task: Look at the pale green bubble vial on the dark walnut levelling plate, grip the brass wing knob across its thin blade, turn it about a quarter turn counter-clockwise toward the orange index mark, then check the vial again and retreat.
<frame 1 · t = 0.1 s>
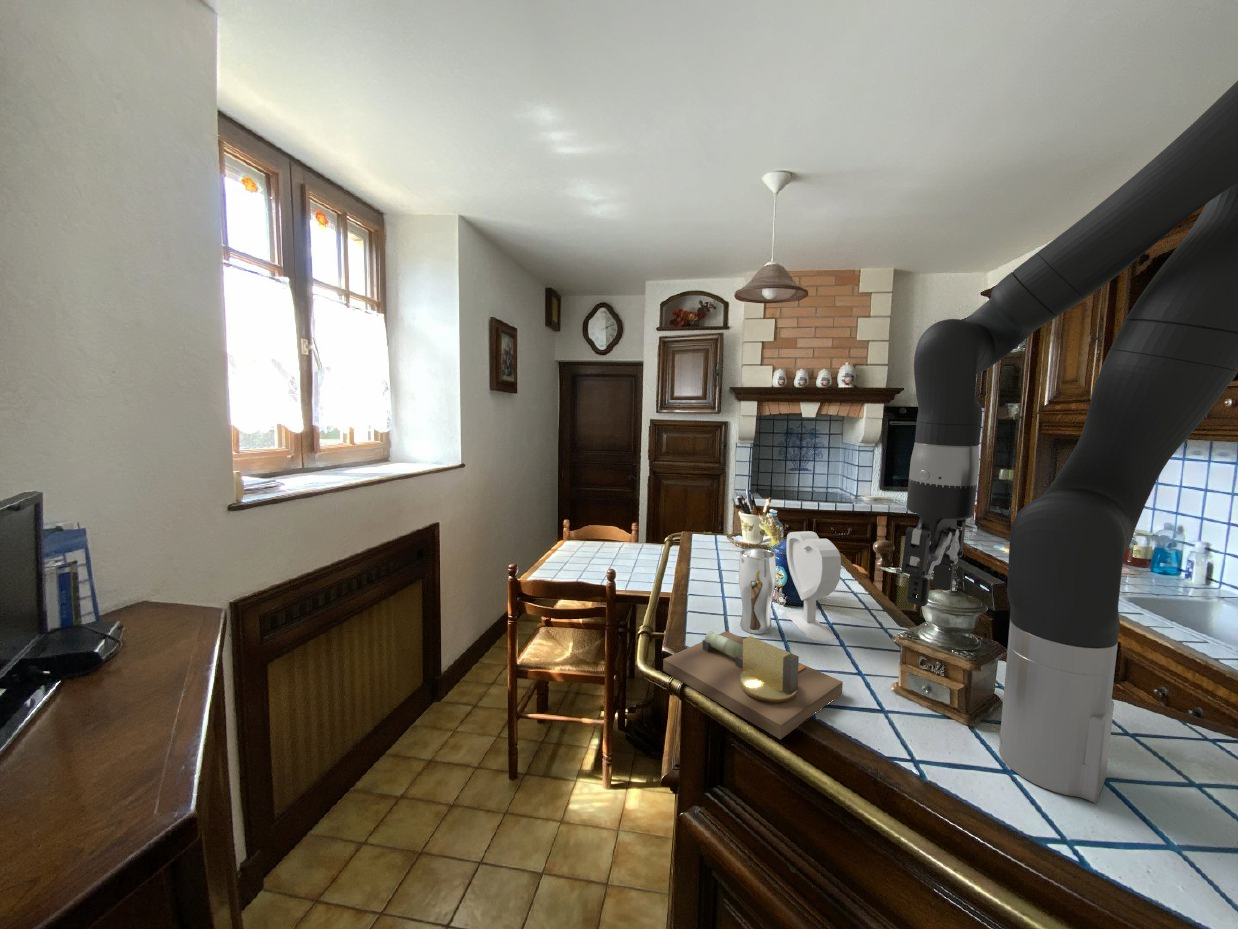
hand: (929, 596, 67), 17 cm above the kitchen island, tool pointing down, fingers open, 8 cm apart
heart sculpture: (809, 625, 98), on the kitchen island
wing knob: (769, 667, 72), point 5 cm above the kitchen island, hinge at 0.0°
tribrach plate: (748, 682, 78), on the kitchen island
beer glass: (755, 628, 97), on the kitchen island
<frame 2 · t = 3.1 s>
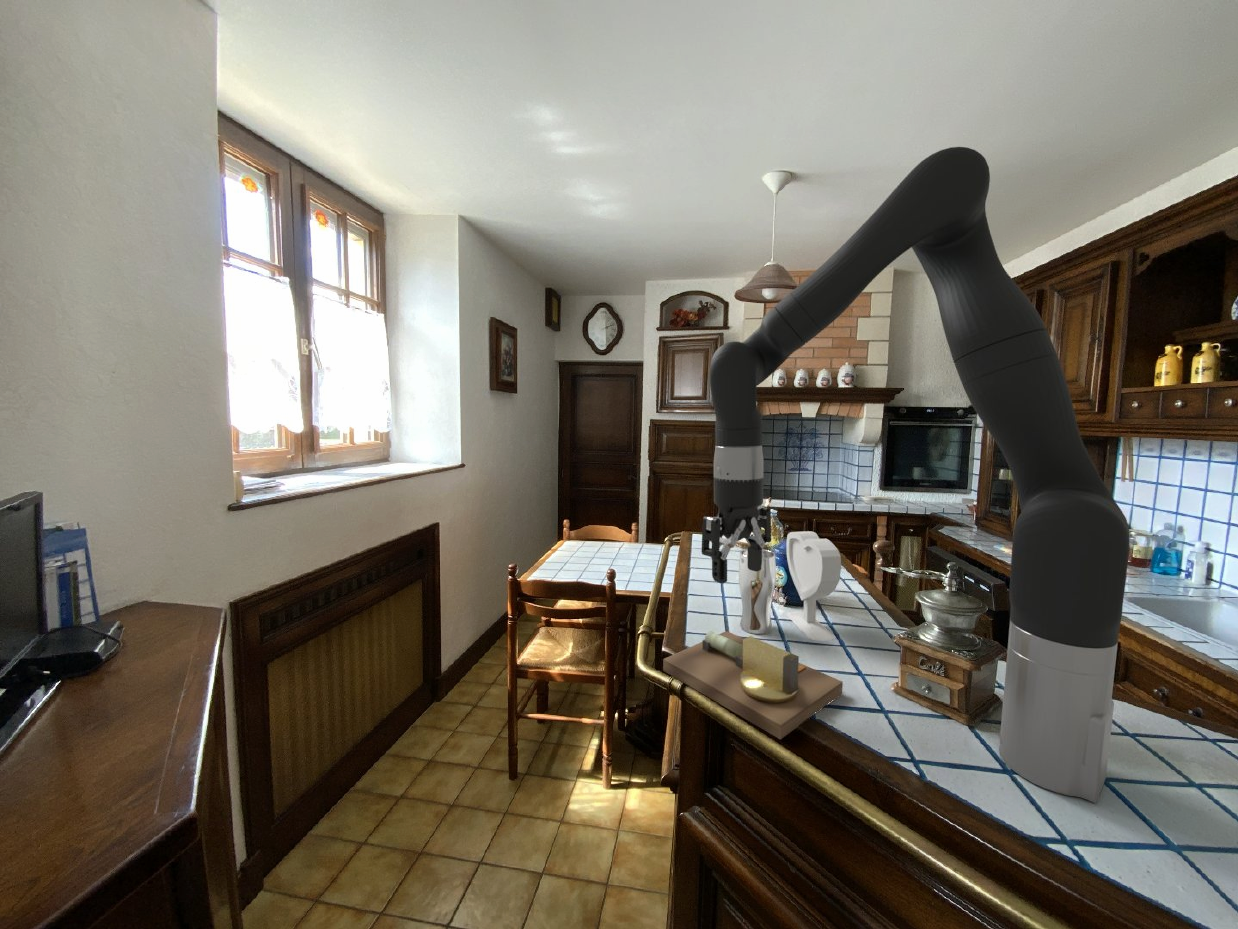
hand: (737, 575, 78), 16 cm above the kitchen island, tool pointing down, fingers open, 8 cm apart
nothing on the kitchen island moved.
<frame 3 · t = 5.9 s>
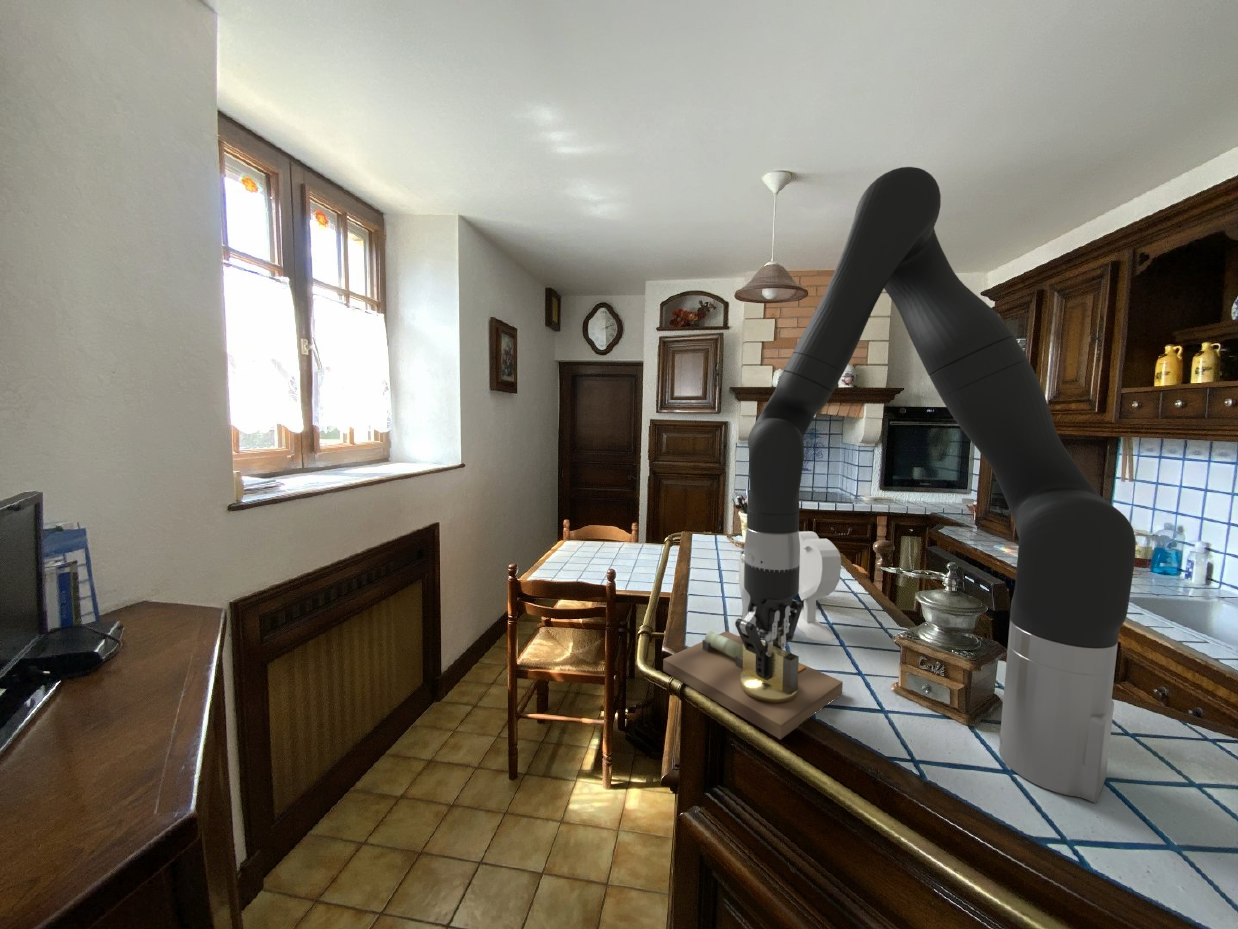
hand: (768, 673, 72), 4 cm above the kitchen island, tool pointing down, fingers closed on wing knob, 2 cm apart
wing knob: (769, 667, 72), point 5 cm above the kitchen island, hinge at 0.0°, touching gripper
everything else where it was.
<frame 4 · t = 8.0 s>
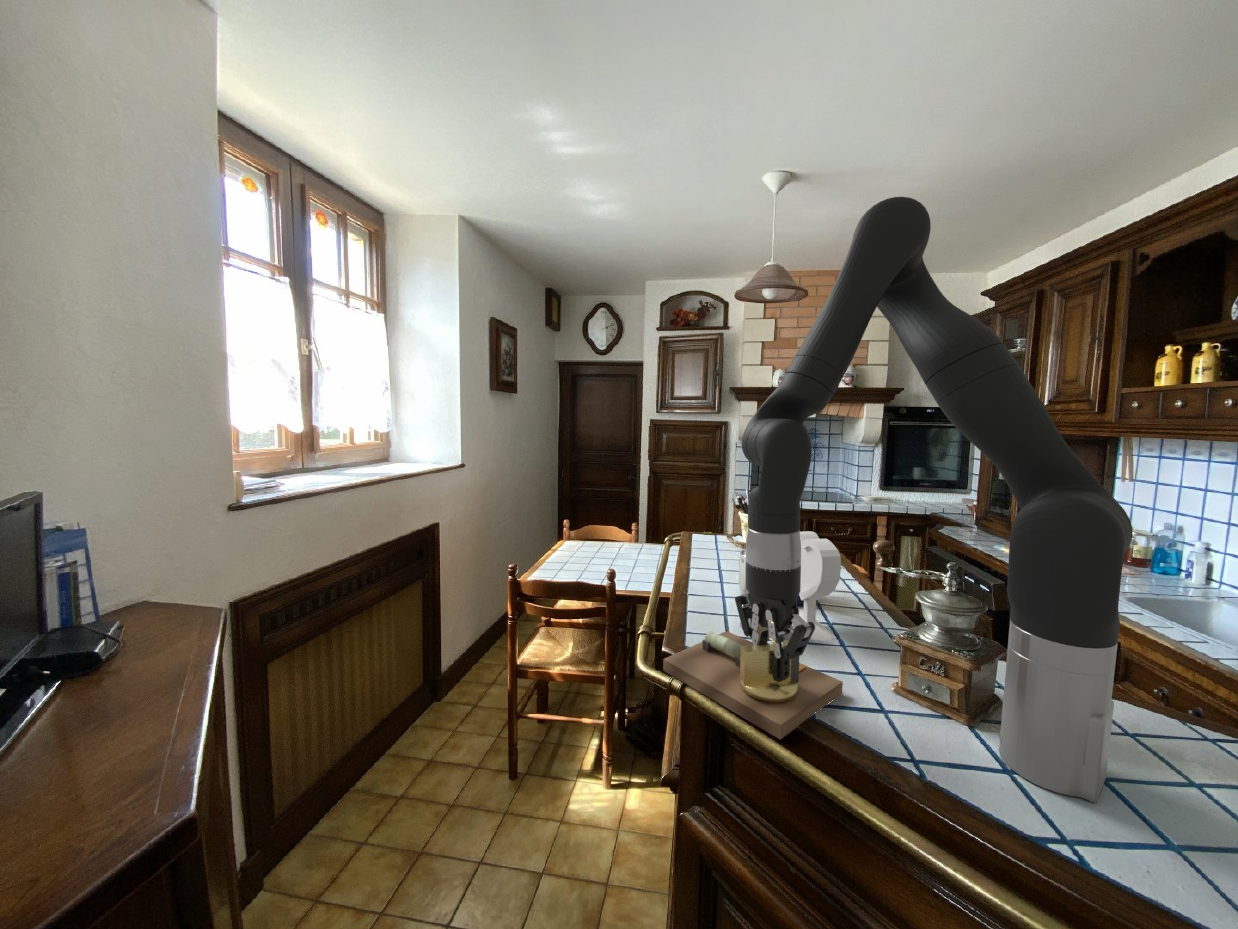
hand: (771, 673, 72), 4 cm above the kitchen island, tool pointing down, fingers closed on wing knob, 3 cm apart
wing knob: (769, 667, 72), point 5 cm above the kitchen island, hinge at 56.8°, touching gripper
everything else where it was.
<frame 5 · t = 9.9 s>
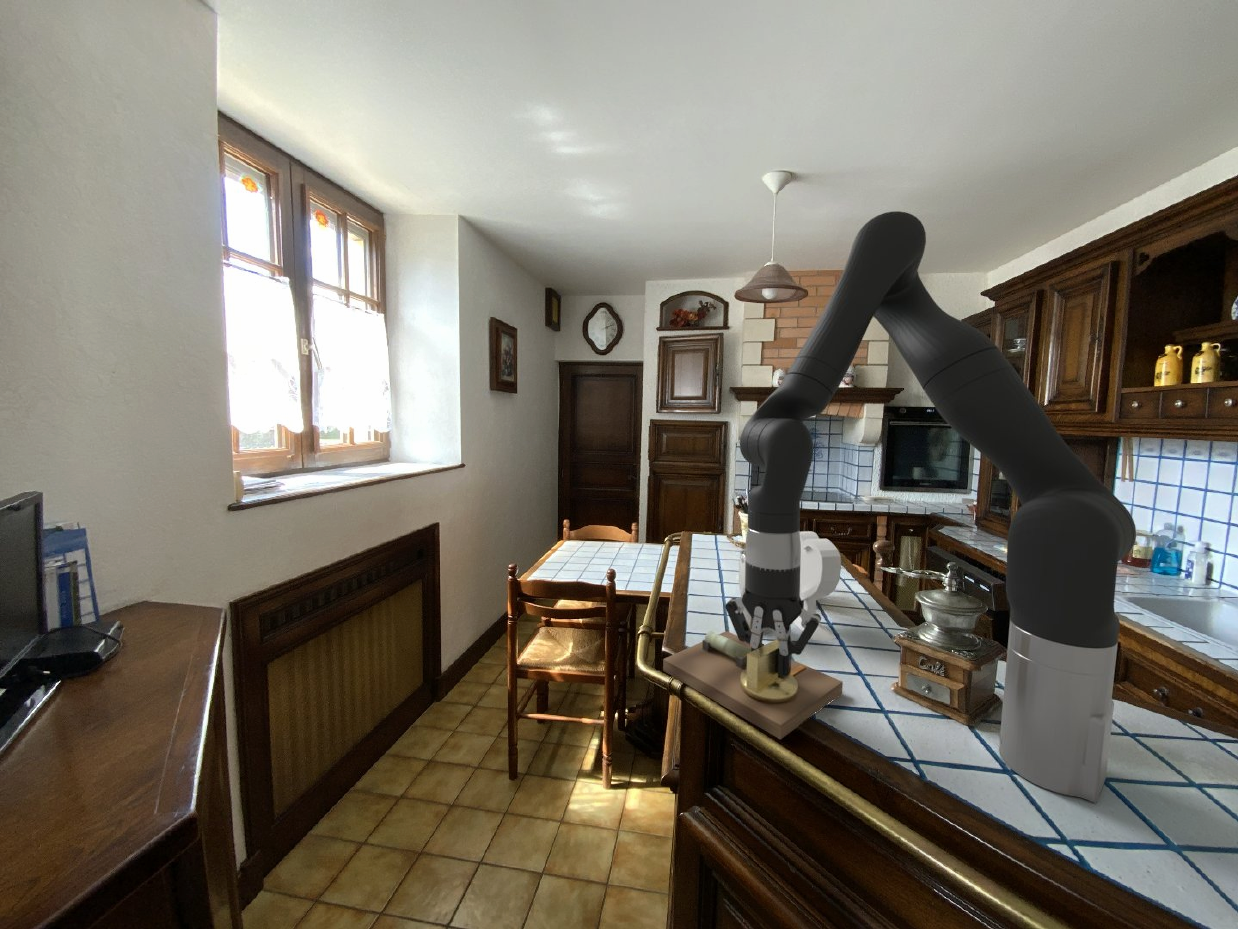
hand: (770, 672, 72), 4 cm above the kitchen island, tool pointing down, fingers closed on wing knob, 2 cm apart
wing knob: (769, 667, 72), point 5 cm above the kitchen island, hinge at 89.5°, touching gripper
everything else where it was.
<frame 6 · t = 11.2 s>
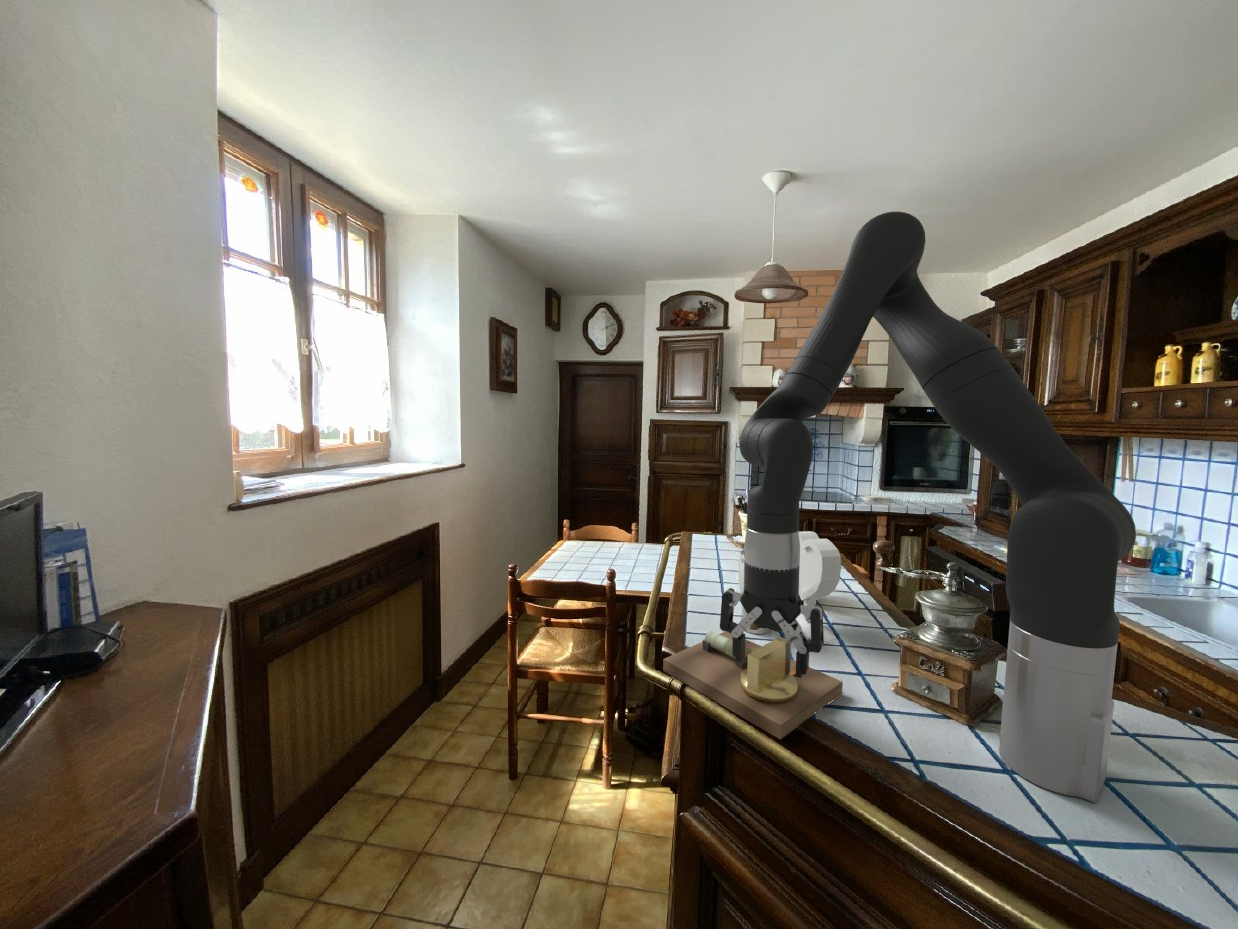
hand: (769, 667, 72), 5 cm above the kitchen island, tool pointing down, fingers open, 8 cm apart
wing knob: (769, 667, 72), point 5 cm above the kitchen island, hinge at 91.5°
everything else where it was.
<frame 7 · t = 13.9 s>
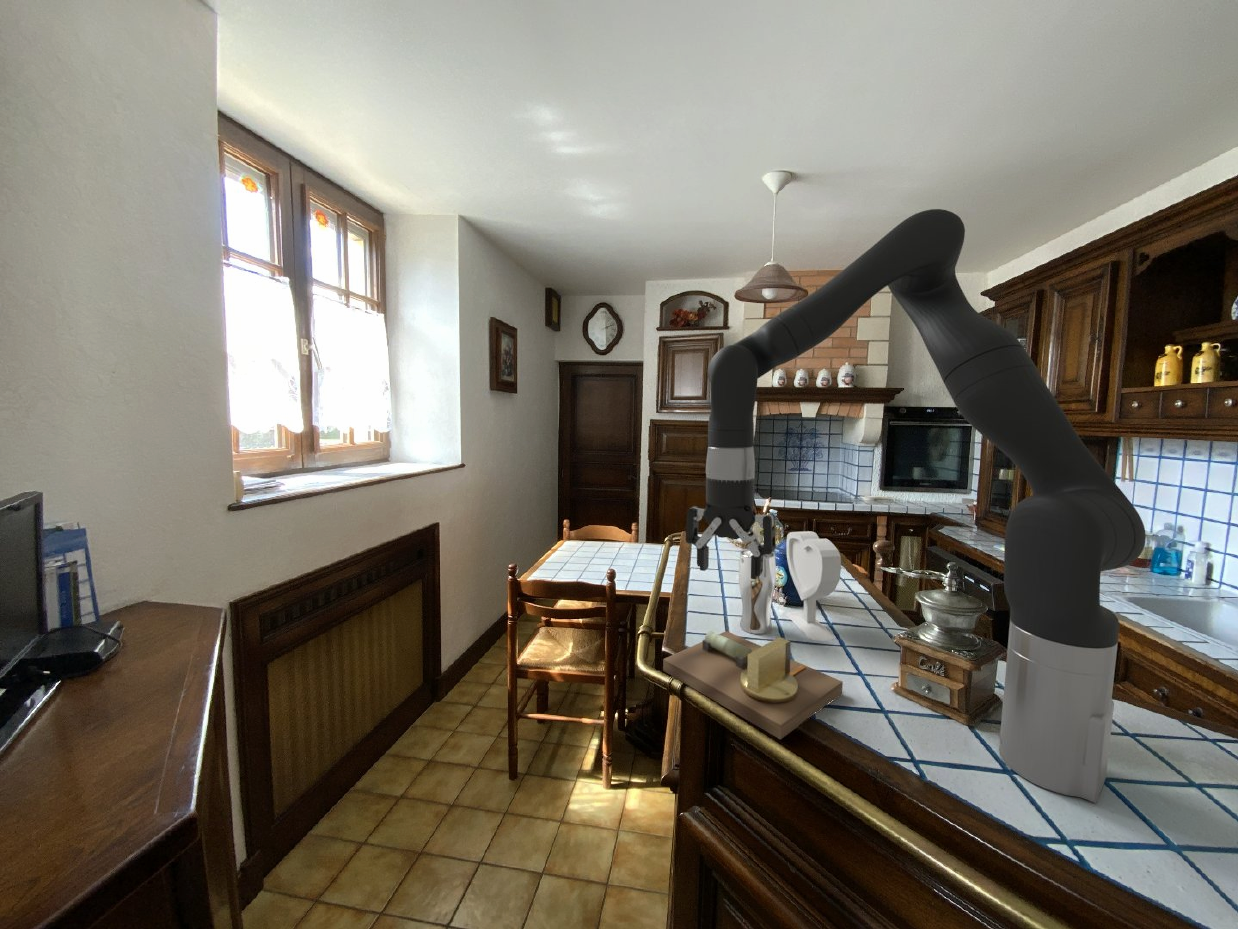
hand: (728, 573, 80), 16 cm above the kitchen island, tool pointing down, fingers open, 8 cm apart
nothing on the kitchen island moved.
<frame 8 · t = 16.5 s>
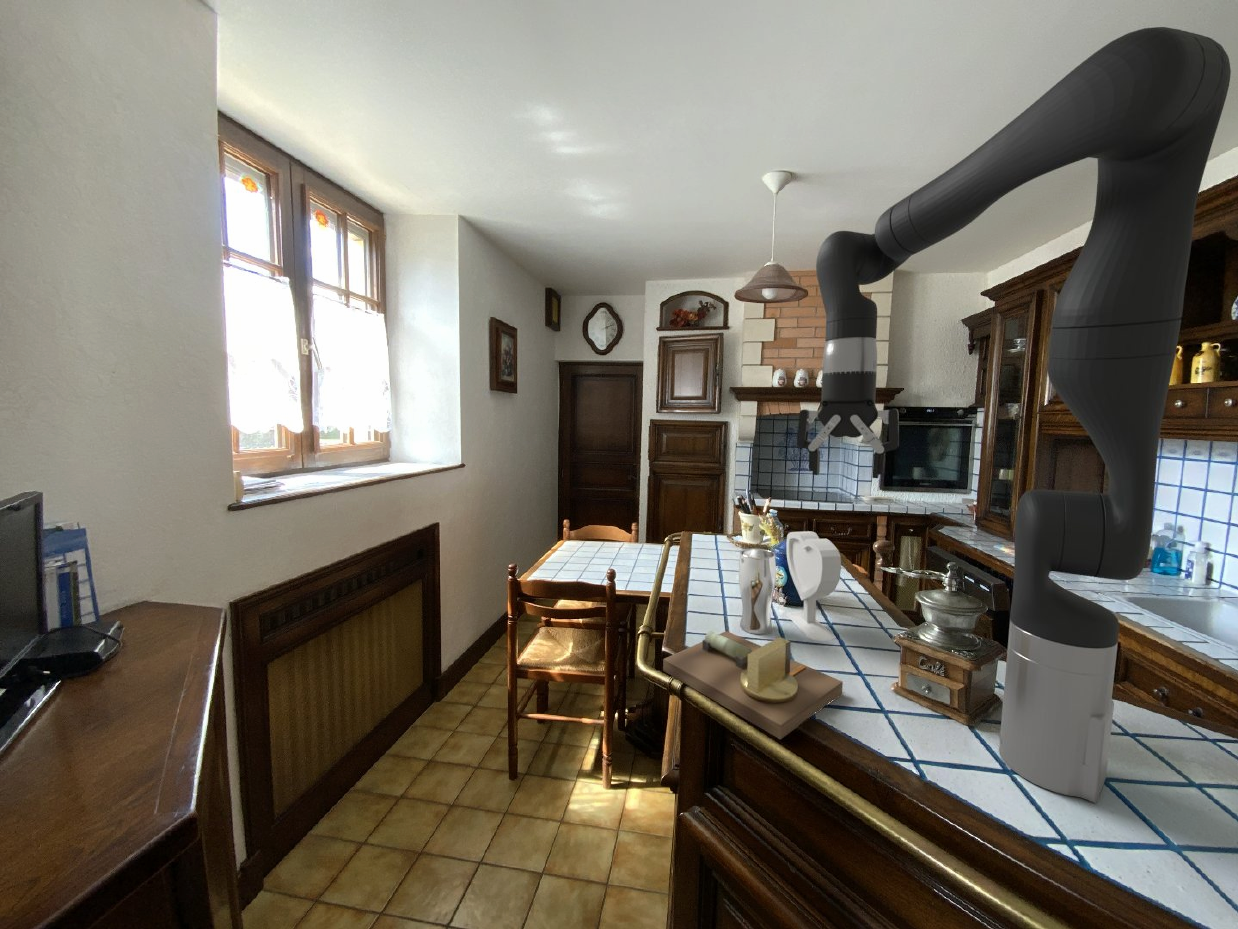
hand: (844, 476, 77), 32 cm above the kitchen island, tool pointing down, fingers open, 8 cm apart
nothing on the kitchen island moved.
at the end: wing knob at +92° (first picture: +0°) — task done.
